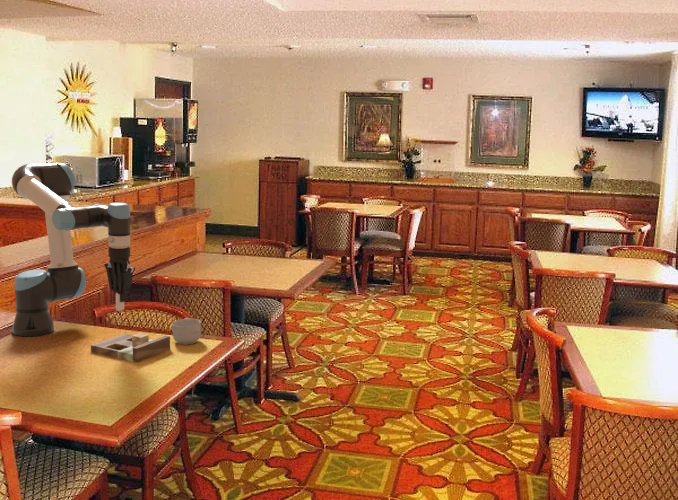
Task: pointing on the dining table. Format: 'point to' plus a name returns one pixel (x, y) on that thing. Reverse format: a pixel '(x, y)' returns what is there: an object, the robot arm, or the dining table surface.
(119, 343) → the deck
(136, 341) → the block
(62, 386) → the dining table surface
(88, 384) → the dining table surface
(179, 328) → the teacup
